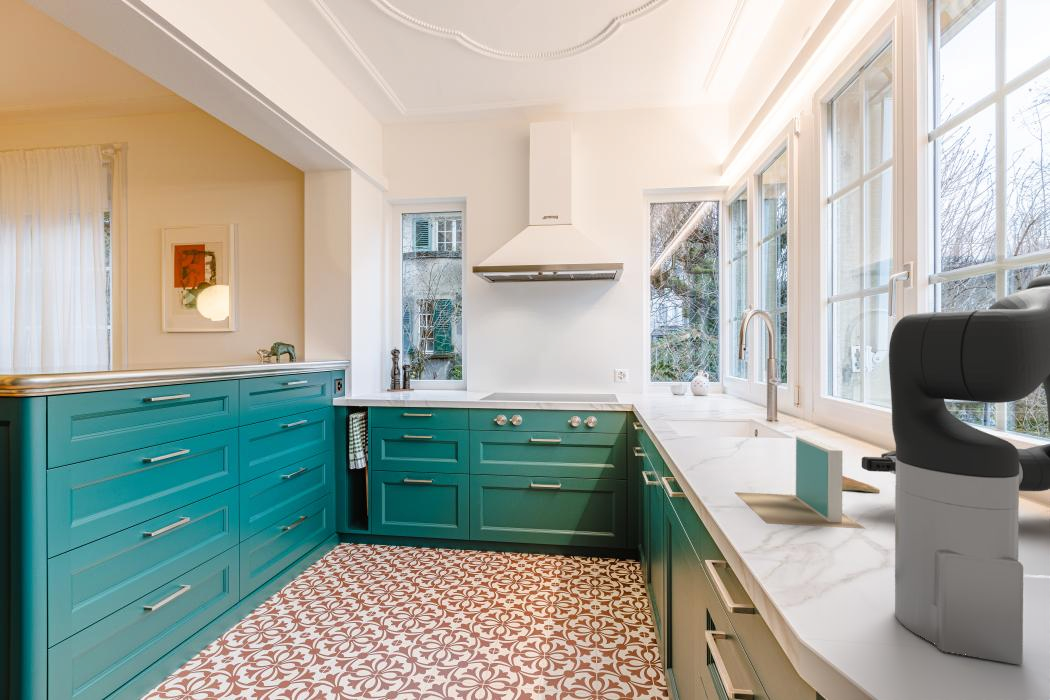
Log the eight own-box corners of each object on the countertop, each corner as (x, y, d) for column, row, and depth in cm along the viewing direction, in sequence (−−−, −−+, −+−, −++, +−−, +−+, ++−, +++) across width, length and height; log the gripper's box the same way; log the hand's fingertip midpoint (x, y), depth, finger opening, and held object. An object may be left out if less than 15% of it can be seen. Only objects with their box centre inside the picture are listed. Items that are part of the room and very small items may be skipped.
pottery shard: (817, 492, 93) (817, 480, 93) (817, 481, 101) (817, 470, 101) (881, 502, 87) (881, 489, 87) (876, 489, 95) (876, 477, 95)
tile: (842, 522, 74) (842, 450, 74) (828, 521, 75) (828, 450, 75) (806, 498, 86) (807, 436, 86) (795, 498, 87) (795, 436, 87)
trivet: (865, 530, 72) (865, 528, 72) (766, 525, 74) (766, 522, 74) (814, 497, 88) (814, 495, 88) (734, 494, 90) (734, 492, 90)
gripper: (943, 438, 84) (843, 435, 86) (1009, 455, 71) (889, 451, 73) (943, 478, 84) (842, 474, 86) (1009, 502, 71) (888, 496, 73)
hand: (864, 463), depth 79 cm, fingers closed
